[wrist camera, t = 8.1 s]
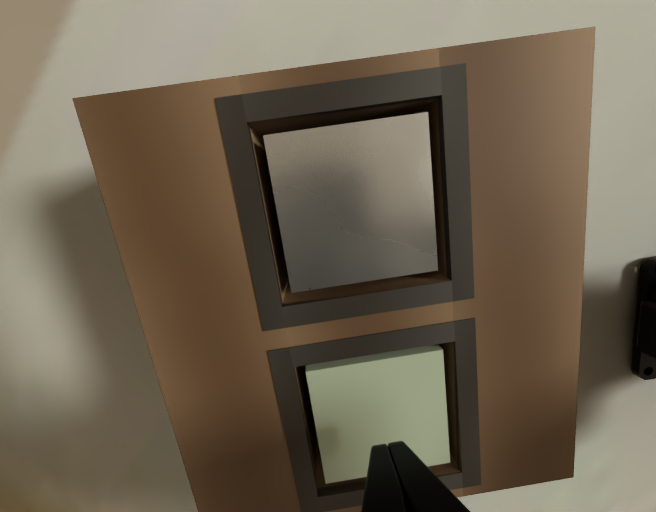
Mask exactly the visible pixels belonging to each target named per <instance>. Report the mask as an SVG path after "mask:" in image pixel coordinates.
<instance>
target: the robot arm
mask: <svg viewBox="0 0 656 512" xmlns="http://www.w3.org/2000/svg"><path fill="white" fill-rule="evenodd" d="M631 371H632V373H633V374H635V375H636V376H638V377H640V378H642V379H644V380H648V379H655V378H656V257H651V258H648V259H647V260H645V261H644V262H643V264H642V265H641V268H640V278H639V289H638V300H637V311H636V321H635V332H634V343H633V354H632V365H631ZM361 512H470V511H469V510H468V509H467V508H466V507H465V506H464V505H463V504H462V503H461V502H460V501H459V499H458V498H457V497H456V496H455V495H454V494H453V493H452V492H451V491H450V490H449V489H448V488H447V487H446V486H445V485H444V484H443V483H442V481H441V480H440V479H439V478H438V477H437V476H436V475H435V474H434V473H433V472H432V471H431V470H430V469H429V468H428V467H427V466H426V465H425V464H424V462H423V461H422V460H421V459H420V458H419V457H418V456H417V455H416V454H415V453H414V452H413V451H412V450H411V449H410V448H409V447H408V446H407V445H406V443H405V442H403V441H396V442H390V443H389V444H388V446H387V444H379V445H373V446H372V447H371V452H370V458H369V465H368V471H367V478H366V484H365V490H364V497H363V503H362V510H361Z"/></svg>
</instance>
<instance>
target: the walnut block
mask: <svg viewBox="0 0 656 512" xmlns="http://www.w3.org/2000/svg"><path fill="white" fill-rule="evenodd" d="M594 45H595V27H589V28H581V29H574V30H567V31H560V32H552V33H545V34H538V35H530V36H523V37H516V38H509V39H501V40H494V41H487V42H479V43H472V44H465V45H458V46H450V47H443V48H436V49H429V50H421V51H414V52H407V53H399V54H392V55H385V56H378V57H370V58H363V59H356V60H348V61H341V62H334V63H327V64H319V65H312V66H305V67H297V68H290V69H283V70H276V71H268V72H261V73H254V74H246V75H239V76H232V77H225V78H217V79H210V80H203V81H195V82H188V83H181V84H174V85H166V86H159V87H152V88H144V89H137V90H130V91H123V92H115V93H108V94H101V95H93V96H86V97H79V98H72V99H73V102H74V105H75V109H76V112H77V115H78V118H79V122H80V125H81V128H82V132H83V135H84V138H85V141H86V145H87V148H88V151H89V155H90V158H91V161H92V164H93V168H94V171H95V174H96V177H97V181H98V184H99V187H100V191H101V194H102V197H103V200H104V204H105V207H106V210H107V214H108V217H109V220H110V223H111V227H112V230H113V233H114V236H115V240H116V243H117V246H118V250H119V253H120V256H121V259H122V263H123V266H124V269H125V272H126V276H127V279H128V282H129V286H130V289H131V292H132V295H133V299H134V302H135V305H136V309H137V312H138V315H139V318H140V322H141V325H142V328H143V331H144V335H145V338H146V341H147V345H148V348H149V351H150V354H151V358H152V361H153V364H154V368H155V371H156V374H157V377H158V381H159V384H160V387H161V390H162V394H163V397H164V400H165V404H166V407H167V410H168V413H169V417H170V420H171V423H172V426H173V430H174V433H175V436H176V440H177V443H178V446H179V449H180V453H181V456H182V459H183V463H184V466H185V469H186V472H187V476H188V479H189V482H190V485H191V489H192V492H193V495H194V499H195V502H196V505H197V508H198V512H361V510H362V503H363V497H364V490H365V484H366V478H367V477H363V478H357V479H351V480H345V481H339V482H333V483H327V484H326V483H325V477H324V472H323V466H322V460H321V455H320V449H319V444H318V438H317V433H316V427H315V421H314V416H313V410H312V405H311V399H310V394H309V388H308V383H307V377H306V365H310V364H317V363H323V362H329V361H335V360H342V359H348V358H354V357H360V356H367V355H373V354H379V353H385V352H392V351H398V350H404V349H410V348H416V347H423V346H429V345H435V344H439V345H440V347H441V348H442V349H443V356H444V372H445V388H446V403H447V419H448V435H449V451H450V463H445V464H439V465H433V466H427V467H428V468H429V469H430V470H431V471H432V472H433V473H434V474H435V475H436V476H437V477H438V478H439V479H440V480H441V481H442V483H443V484H444V485H445V486H446V487H447V488H448V489H449V490H450V491H451V492H452V493H453V494H454V495H455V496H456V497H462V496H467V495H473V494H479V493H485V492H491V491H496V490H502V489H508V488H514V487H520V486H525V485H531V484H537V483H543V482H549V481H554V480H560V479H566V478H572V477H573V476H574V455H575V435H576V414H577V394H578V373H579V353H580V332H581V312H582V291H583V271H584V250H585V230H586V209H587V189H588V168H589V148H590V127H591V107H592V86H593V66H594ZM424 112H428V119H429V134H430V150H431V166H432V182H433V197H434V213H435V229H436V245H437V260H438V270H437V271H431V272H424V273H418V274H411V275H405V276H398V277H392V278H385V279H379V280H373V281H366V282H360V283H353V284H347V285H340V286H334V287H327V288H321V289H314V290H308V291H301V292H295V293H291V288H290V283H289V277H288V271H287V266H286V260H285V255H284V249H283V244H282V238H281V232H280V227H279V221H278V216H277V210H276V205H275V199H274V194H273V188H272V182H271V177H270V171H269V166H268V160H267V155H266V149H265V143H264V138H263V135H269V134H276V133H283V132H290V131H297V130H304V129H311V128H318V127H325V126H332V125H339V124H346V123H353V122H360V121H367V120H374V119H381V118H388V117H395V116H403V115H410V114H417V113H424Z"/></svg>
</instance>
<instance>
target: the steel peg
mask: <svg viewBox="0 0 656 512" xmlns="http://www.w3.org/2000/svg"><path fill="white" fill-rule="evenodd" d="M263 138H264V143H265V149H266V155H267V160H268V166H269V171H270V177H271V182H272V188H273V194H274V199H275V205H276V210H277V216H278V221H279V227H280V232H281V238H282V244H283V249H284V255H285V260H286V266H287V271H288V277H289V283H290V288H291V293H295V292H301V291H308V290H314V289H321V288H327V287H334V286H340V285H347V284H353V283H360V282H366V281H373V280H379V279H385V278H392V277H398V276H405V275H411V274H418V273H424V272H431V271H437V270H438V260H437V245H436V229H435V213H434V197H433V182H432V166H431V150H430V134H429V119H428V112H424V113H417V114H410V115H403V116H395V117H388V118H381V119H374V120H367V121H360V122H353V123H346V124H339V125H332V126H325V127H318V128H311V129H304V130H297V131H290V132H283V133H276V134H269V135H263Z"/></svg>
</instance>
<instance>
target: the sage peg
mask: <svg viewBox="0 0 656 512" xmlns="http://www.w3.org/2000/svg"><path fill="white" fill-rule="evenodd" d="M306 377H307V383H308V388H309V394H310V399H311V405H312V410H313V416H314V421H315V427H316V433H317V438H318V444H319V449H320V455H321V460H322V466H323V472H324V477H325V483H326V484H327V483H333V482H339V481H345V480H351V479H357V478H363V477H367V471H368V465H369V458H370V452H371V447H372V446H373V445H379V444H387V446H388V444H389V443H390V442H396V441H403V442H405V443H406V445H407V446H408V447H409V448H410V449H411V450H412V451H413V452H414V453H415V454H416V455H417V456H418V457H419V458H420V459H421V460H422V461H423V462H424V464H425V465H426V466H433V465H439V464H445V463H450V451H449V435H448V419H447V403H446V388H445V372H444V356H443V349H442V348H441V347H440V345H439V344H435V345H429V346H423V347H416V348H410V349H404V350H398V351H392V352H385V353H379V354H373V355H367V356H360V357H354V358H348V359H342V360H335V361H329V362H323V363H317V364H310V365H306Z"/></svg>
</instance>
